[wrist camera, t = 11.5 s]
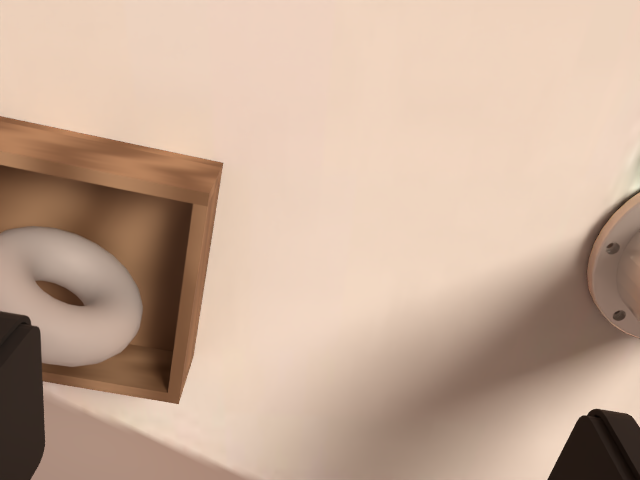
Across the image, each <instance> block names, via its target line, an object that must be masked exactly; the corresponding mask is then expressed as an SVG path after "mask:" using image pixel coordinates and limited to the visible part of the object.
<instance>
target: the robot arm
mask: <svg viewBox="0 0 640 480" xmlns="http://www.w3.org/2000/svg"><path fill="white" fill-rule="evenodd" d="M587 279H588V287H589V291H590V293H591V296H592V299H593V301H594V303H595V304H596V306H597V307H598V309H599V310H600V312H601V313H602V314H603V316H604V317H605V318H606V319H607V320H608V321H609V322H610V323H611V324H612V325H614V326H615V327H617V328H618V329H620V330H621V331H623V332H624V333H627V334H629V335H632V336H634V337H637V338H640V192H639V193H638V194H637V195H635V196H634V197H632V198H631V199H629V200H628V201H627V202H626V203H625V204H624V205H623V206H622V207H620V208H619V209H618V210H617V211H616V212H615V213H614V214H613V215H612V217H611V218H610V219H609V220H608V222H607V223H606V224H605V226H604V227H603V228H602V230H601V232H600V233H599V235H598V237H597V239H596V241H595V243H594V245H593V248H592V251H591V254H590V257H589V261H588V270H587ZM44 447H45V431H44V406H43V380H42V355H41V333H40V329H39V327H37V326H33V325H31V320H30V318H29V317H28V316H26V315H21V314H15V313H8V312H2V311H0V480H30V479H31V477H32V476H33V474H34V472H35V470H36V469H37V467H38V465H39V463H40V461H41V458H42V456H43V452H44ZM548 480H640V427H639V426H638V424H637V423H636V421H635V420H634V419H633V418H632V416H630V415H628V414H625V413H619V412H613V411H607V410H601V409H593V410H592V411H590V412H589V413H588V415H587V416H581V417H580V418H579V419H578V421H577V422H576V424H575V426H574V428H573V430H572V432H571V434H570V436H569V438H568V440H567V442H566V444H565V446H564V448H563V450H562V452H561V454H560V456H559V458H558V460H557V462H556V464H555V466H554V468H553V470H552V472H551V474H550V476H549V478H548Z"/></svg>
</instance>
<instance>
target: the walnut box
mask: <svg viewBox="0 0 640 480" xmlns="http://www.w3.org/2000/svg"><path fill="white" fill-rule="evenodd" d="M222 167H223V163H221V162H216V161H211V160H206V159H202V158H197V157H192V156H187V155H182V154H178V153H173V152H168V151H163V150H159V149H154V148H149V147H144V146H140V145H135V144H130V143H125V142H120V141H116V140H111V139H106V138H101V137H97V136H92V135H87V134H82V133H77V132H73V131H68V130H63V129H58V128H54V127H49V126H44V125H39V124H34V123H30V122H25V121H20V120H15V119H11V118H6V117H1V116H0V233H2V232H3V231H5V230H8V229H14V228H21V227H27V226H39V227H51V228H57V229H61V230H64V231H68V232H71V233H75V234H77V235H79V236H82V237H84V238H86V239H88V240H90V241H92V242H94V243H96V244H98V245H99V246H101V247H102V248H103V249H105V250H106V251H108V252H109V253H111V254H112V255H113V256H114V257H115V258H116V259H117V260H118V261H119V262H120V263H121V264H122V265H123V266H124V267H125V268H126V269H127V270H128V271H129V273H130V275H131V276H132V278H133V280H134V281H135V283H136V285H137V287H138V289H139V292H140V296H141V300H142V305H143V313H142V318H141V323H140V328H139V330H138V332H137V334H136V336H135V337H134V338H133V339H132V341H131V342H130V343H129V344H128V346H127V347H126V348H125V349H124V350H123V351H122V352H121V353H119V354H117V355H115V356H113V357H111V358H109V359H107V360H105V361H103V362H100V363H97V364H92V365H84V366H76V367H68V366H61V365H53V364H45V363H42V380H43V381H45V382H50V383H56V384H62V385H68V386H74V387H80V388H86V389H92V390H98V391H104V392H110V393H116V394H122V395H128V396H134V397H140V398H146V399H152V400H158V401H164V402H169V403H175V404H179V401H180V398H181V394H182V391H183V388H184V385H185V382H186V378H187V375H188V372H189V369H190V366H191V362H192V359H193V355H194V349H195V342H196V336H197V329H198V323H199V316H200V310H201V303H202V297H203V290H204V284H205V277H206V271H207V264H208V258H209V251H210V245H211V239H212V232H213V226H214V219H215V213H216V206H217V200H218V193H219V187H220V180H221V174H222ZM36 283H37V285H38V286H39V287H40V288H41V289H42V290H43V291H44V292H46V293H47V294H49V295H50V296H52V297H53V298H55V299H57V300H59V301H62V302H64V303H67V304H70V305H75V306H84V304H83V302H82V301H81V300H80V299H79V298H78V297H77V296H76V295H75V294H74V293H72V292H71V291H69V290H68V289H67V288H64V287H62V286H60V285H57V284H55V283H51V282H47V281H36Z"/></svg>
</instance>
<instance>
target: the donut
mask: <svg viewBox="0 0 640 480" xmlns="http://www.w3.org/2000/svg"><path fill="white" fill-rule="evenodd" d="M36 281H47V282H51V283H55V284H57V285H60V286H62V287H64V288H67V289H68V290H69V291H71V292H72V293H74V294H75V295H76V296H77V297H78V298H79V299H80V300H81V301H82V302H83V304H84V306H75V305H70V304H67V303H64V302H62V301H59V300H57V299H55V298H53V297H52V296H50V295H49V294H47V293H46V292H44V291H43V290H42V289H41V288H40V287H39V286H38V285H37V283H36ZM0 311H2V312H8V313H15V314H21V315H26V316H28V317H29V318H30V320H31V325H33V326H37V327H39V329H40V333H41V355H42V363H45V364H53V365H61V366H68V367H76V366H84V365H92V364H97V363H100V362H103V361H105V360H107V359H109V358H111V357H113V356H115V355H117V354H119V353H121V352H122V351H123V350H124V349H125V348H126V347H127V346H128V344H129V343H130V342H131V341H132V339H133V338H134V337H135V336H136V334H137V332H138V330H139V328H140V323H141V318H142V313H143V305H142V300H141V296H140V292H139V289H138V287H137V285H136V283H135V281H134V280H133V278H132V276H131V275H130V273H129V271H128V270H127V269H126V268H125V267H124V266H123V265H122V264H121V263H120V262H119V261H118V260H117V259H116V258H115V257H114V256H113V255H112V254H111V253H109V252H108V251H106V250H105V249H103V248H102V247H101V246H99V245H98V244H96V243H94V242H92V241H90V240H88V239H86V238H84V237H82V236H79V235H77V234H75V233H71V232H68V231H64V230H61V229H57V228H51V227H39V226H27V227H21V228H14V229H8V230H5V231H3V232H2V233H0Z"/></svg>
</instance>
